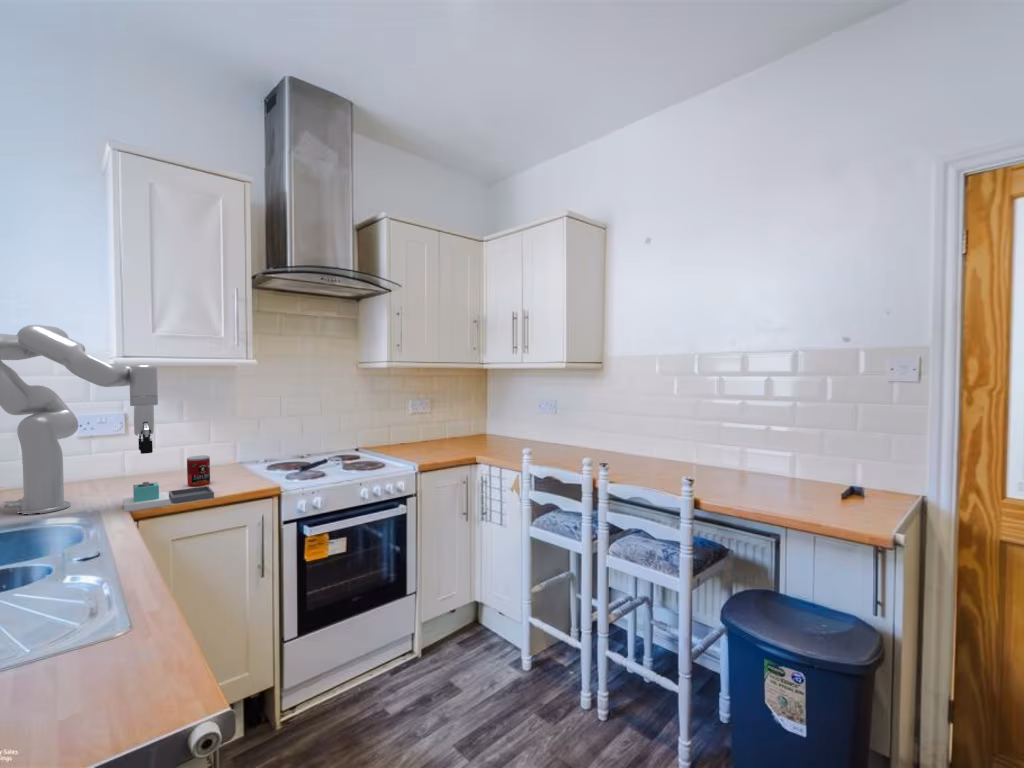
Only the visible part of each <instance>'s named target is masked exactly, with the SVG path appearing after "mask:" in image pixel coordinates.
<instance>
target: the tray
mask: <svg viewBox="0 0 1024 768" xmlns="http://www.w3.org/2000/svg"><path fill="white" fill-rule="evenodd" d="M168 497H169V499H170V502H171V501H172V502H171V504H173V505H175V504H180V503H187V502H194V501H202V500H207V499H214V498H215V492H214V491H213V489H212V488H211V487H210V486H209V485H204V486H197V487H191V488H190V487H189V488H183V489H182V488H181V489H176V490H175V489H174V490H169V491H168Z"/></svg>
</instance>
